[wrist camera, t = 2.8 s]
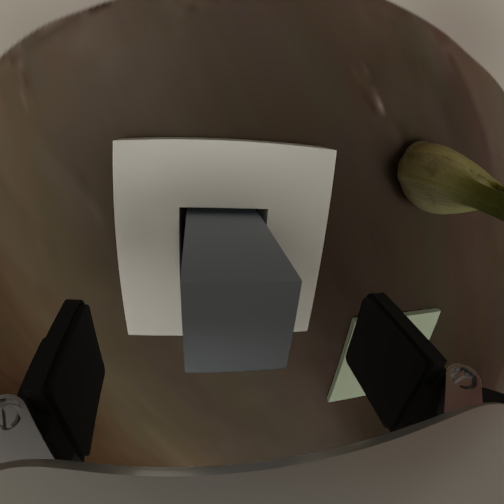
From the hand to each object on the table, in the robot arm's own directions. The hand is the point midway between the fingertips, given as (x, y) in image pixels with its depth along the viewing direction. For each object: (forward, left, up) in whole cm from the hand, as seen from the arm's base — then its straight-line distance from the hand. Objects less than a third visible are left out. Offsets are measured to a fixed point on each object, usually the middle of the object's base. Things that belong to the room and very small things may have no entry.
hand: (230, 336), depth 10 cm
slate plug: (0, 0, -11) cm, 11 cm away
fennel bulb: (-15, -5, -11) cm, 19 cm away
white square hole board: (0, 0, -11) cm, 11 cm away
